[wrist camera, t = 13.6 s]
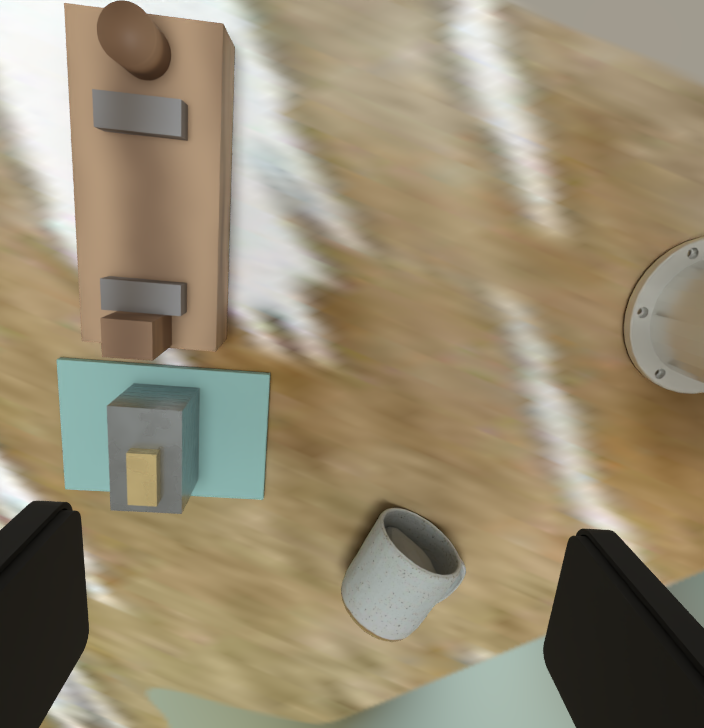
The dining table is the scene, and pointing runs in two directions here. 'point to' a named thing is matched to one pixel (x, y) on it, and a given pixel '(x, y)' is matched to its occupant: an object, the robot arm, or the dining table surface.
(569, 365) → the dining table surface
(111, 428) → the lever cap
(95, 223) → the plane body
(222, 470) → the mat
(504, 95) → the dining table surface
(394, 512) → the ceramic mug
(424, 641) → the dining table surface
